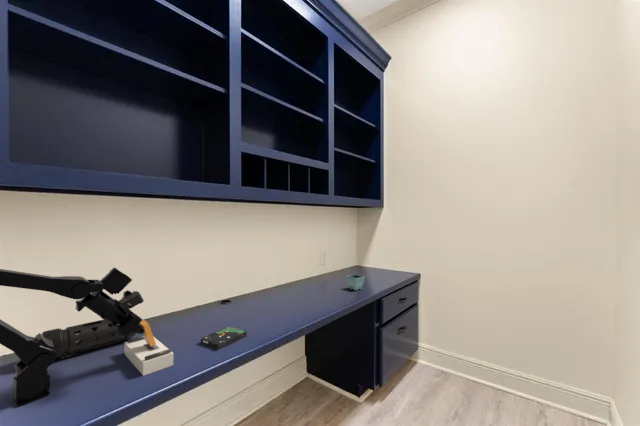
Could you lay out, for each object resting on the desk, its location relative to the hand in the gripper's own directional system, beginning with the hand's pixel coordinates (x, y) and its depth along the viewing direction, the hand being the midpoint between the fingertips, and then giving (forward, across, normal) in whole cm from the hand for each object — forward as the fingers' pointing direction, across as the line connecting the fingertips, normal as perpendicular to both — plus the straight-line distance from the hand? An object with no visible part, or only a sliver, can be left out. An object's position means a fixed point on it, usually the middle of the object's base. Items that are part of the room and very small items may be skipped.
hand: (142, 332), depth 101 cm
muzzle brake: (0, +22, +15) cm, 27 cm away
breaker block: (+8, 0, +6) cm, 10 cm away
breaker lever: (+6, 0, +2) cm, 6 cm away
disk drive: (+27, -4, -13) cm, 30 cm away
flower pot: (+98, +6, -87) cm, 131 cm away
